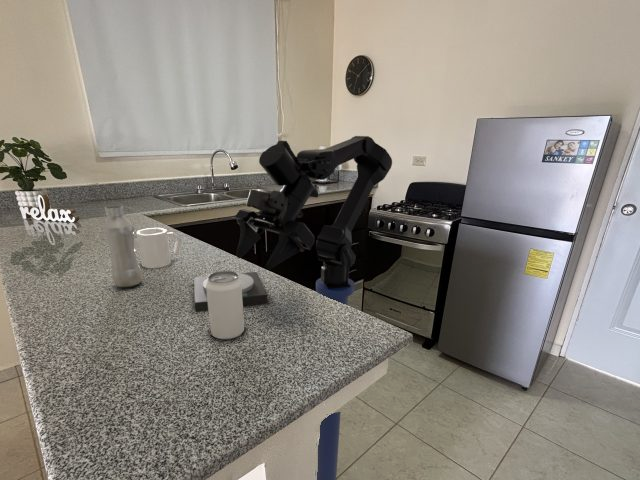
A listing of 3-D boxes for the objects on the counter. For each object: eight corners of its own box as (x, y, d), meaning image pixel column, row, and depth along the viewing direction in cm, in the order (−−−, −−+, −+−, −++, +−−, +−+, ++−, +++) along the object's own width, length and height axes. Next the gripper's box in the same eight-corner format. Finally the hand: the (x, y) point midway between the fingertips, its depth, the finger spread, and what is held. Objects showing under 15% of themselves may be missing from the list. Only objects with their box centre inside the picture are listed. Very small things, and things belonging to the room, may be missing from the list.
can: (247, 337, 68) (243, 280, 63) (212, 343, 66) (206, 285, 61) (241, 321, 73) (237, 268, 69) (209, 326, 71) (203, 272, 66)
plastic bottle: (116, 281, 91) (99, 205, 83) (144, 278, 93) (131, 203, 85) (112, 291, 85) (94, 210, 78) (142, 288, 88) (128, 208, 80)
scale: (256, 279, 95) (256, 268, 94) (267, 302, 82) (267, 290, 80) (195, 285, 90) (193, 273, 89) (195, 311, 77) (194, 298, 76)
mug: (145, 270, 99) (139, 236, 95) (138, 261, 105) (132, 230, 101) (187, 262, 106) (184, 230, 102) (178, 254, 112) (174, 224, 108)
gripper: (239, 170, 72) (197, 231, 69) (305, 178, 61) (260, 252, 58) (268, 203, 81) (233, 259, 77) (331, 216, 70) (293, 282, 66)
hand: (252, 262), depth 69 cm, fingers open, 9 cm apart
